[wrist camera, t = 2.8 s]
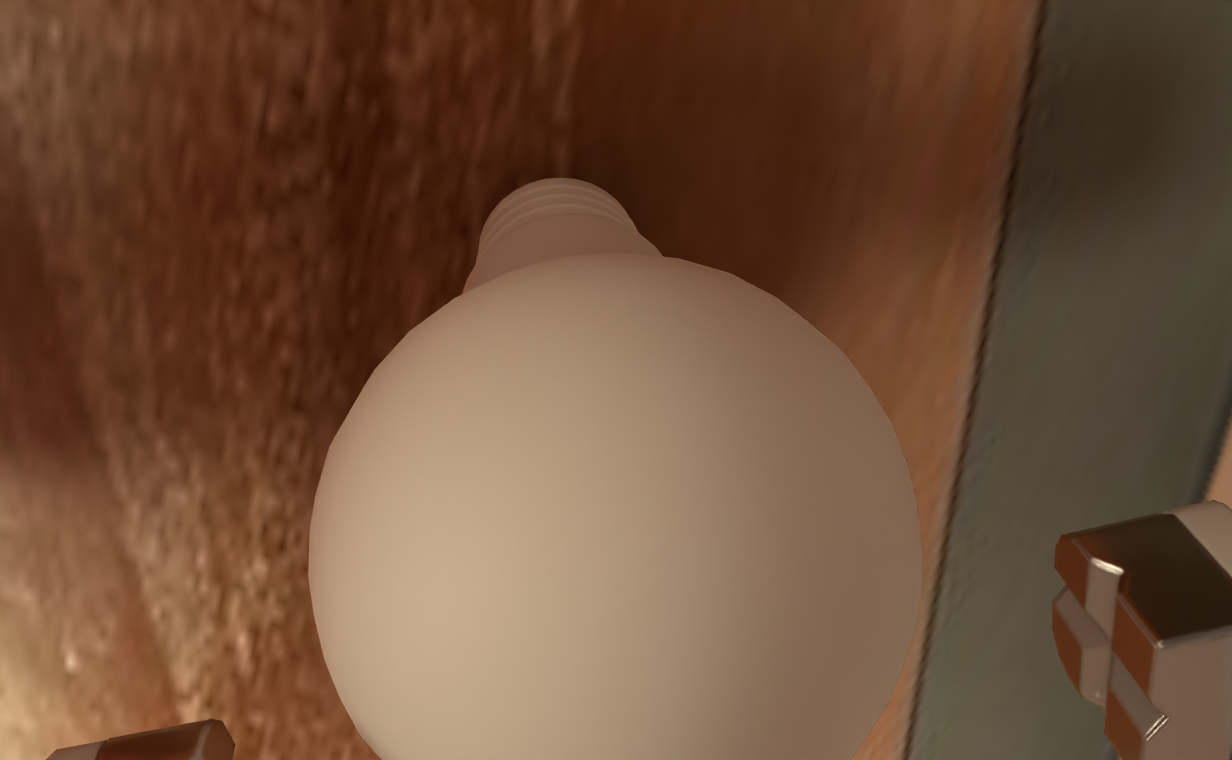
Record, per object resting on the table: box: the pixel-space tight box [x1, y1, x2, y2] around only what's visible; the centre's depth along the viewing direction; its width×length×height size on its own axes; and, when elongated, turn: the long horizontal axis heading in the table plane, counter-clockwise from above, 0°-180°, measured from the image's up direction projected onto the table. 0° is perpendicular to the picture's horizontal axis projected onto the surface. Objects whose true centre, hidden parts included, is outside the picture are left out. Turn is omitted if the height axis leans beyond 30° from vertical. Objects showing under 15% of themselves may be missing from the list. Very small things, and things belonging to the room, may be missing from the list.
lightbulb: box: [308, 178, 922, 760], centre depth 14 cm, size 6×6×11 cm
